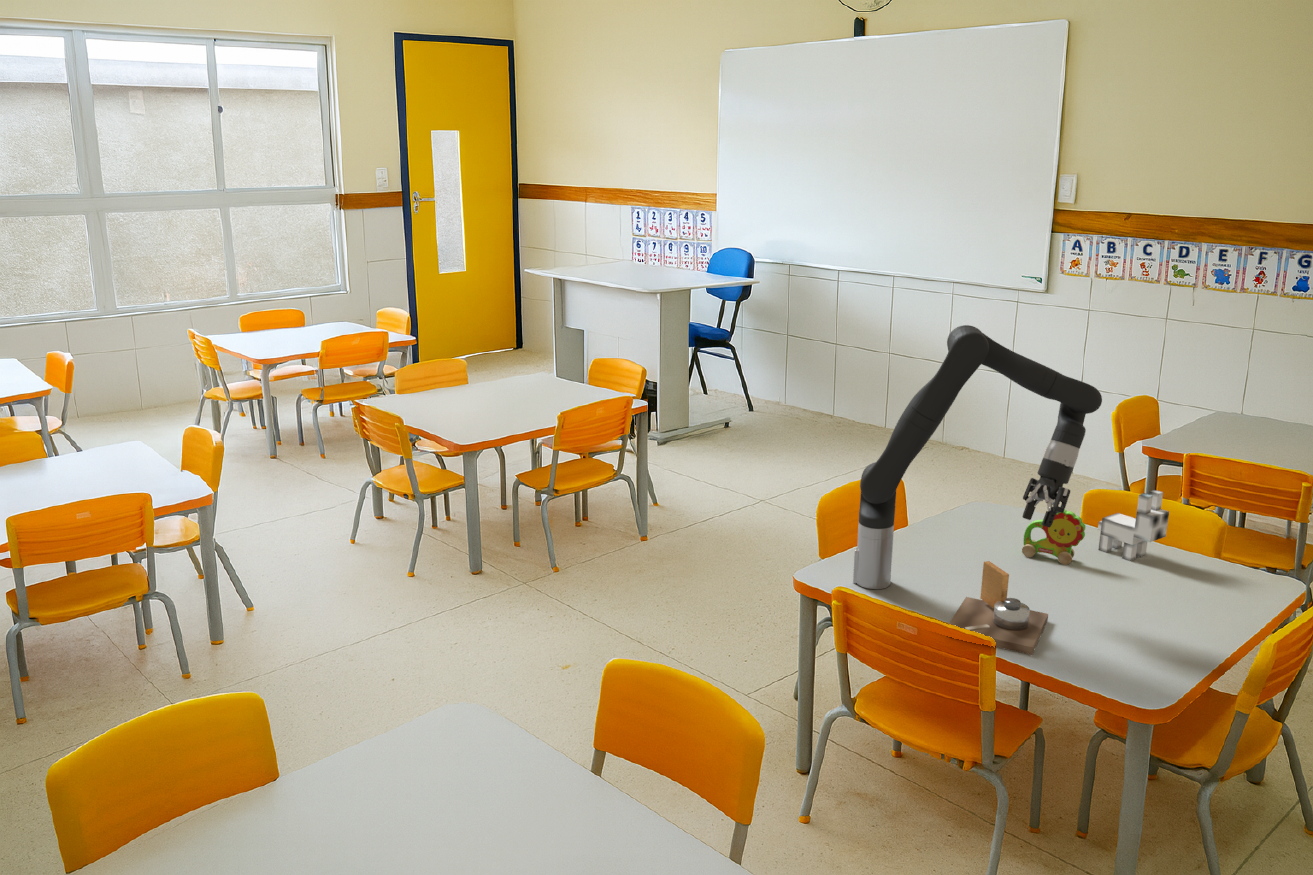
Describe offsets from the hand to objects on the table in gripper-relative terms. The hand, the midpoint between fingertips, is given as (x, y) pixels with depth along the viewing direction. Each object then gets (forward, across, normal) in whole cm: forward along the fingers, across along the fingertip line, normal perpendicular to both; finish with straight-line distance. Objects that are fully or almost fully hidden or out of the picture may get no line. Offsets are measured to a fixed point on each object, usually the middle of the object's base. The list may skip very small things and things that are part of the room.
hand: (1035, 522), depth 247 cm
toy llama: (+1, -28, +50) cm, 58 cm away
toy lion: (+9, -29, +29) cm, 42 cm away
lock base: (+27, +6, -4) cm, 28 cm away
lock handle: (+24, +5, -3) cm, 25 cm away
